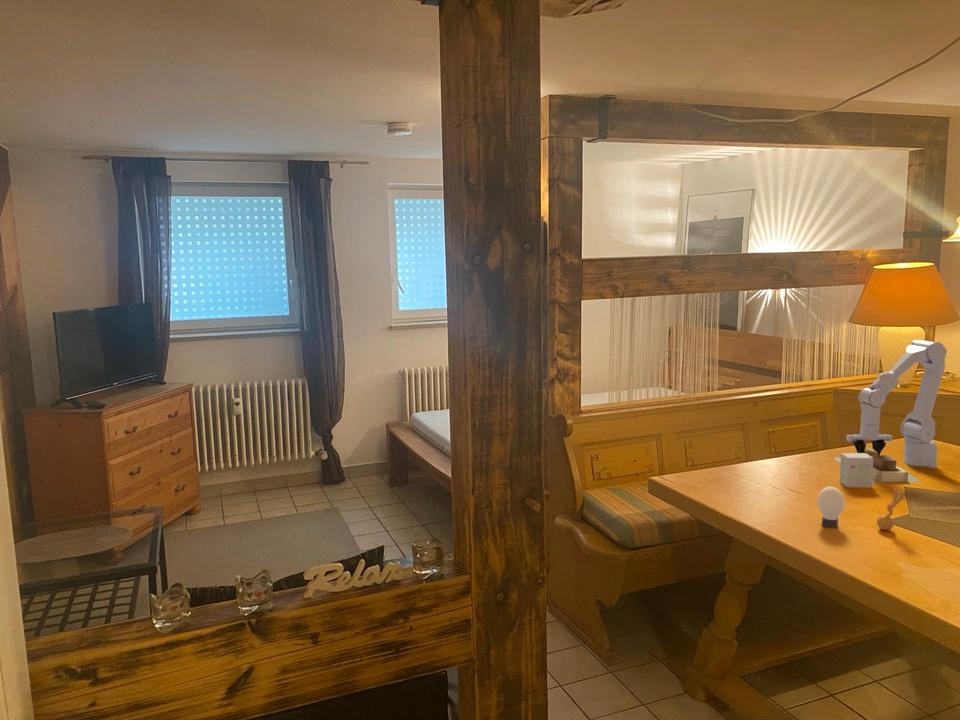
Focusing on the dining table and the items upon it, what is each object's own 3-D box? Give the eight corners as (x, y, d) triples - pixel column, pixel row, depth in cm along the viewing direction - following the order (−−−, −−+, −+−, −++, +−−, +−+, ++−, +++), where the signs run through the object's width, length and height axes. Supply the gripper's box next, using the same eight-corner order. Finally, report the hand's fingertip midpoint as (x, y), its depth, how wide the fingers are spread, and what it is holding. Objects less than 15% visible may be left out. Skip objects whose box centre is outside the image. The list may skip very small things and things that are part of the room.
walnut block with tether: (872, 461, 247) (873, 445, 246) (894, 477, 233) (896, 460, 231) (857, 462, 247) (859, 445, 246) (879, 477, 233) (880, 460, 232)
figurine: (878, 523, 196) (880, 482, 194) (903, 527, 193) (906, 485, 191) (875, 533, 189) (877, 490, 188) (901, 538, 186) (903, 494, 184)
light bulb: (823, 530, 192) (825, 491, 191) (811, 521, 199) (813, 483, 198) (848, 529, 193) (850, 490, 191) (835, 520, 199) (837, 482, 198)
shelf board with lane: (878, 459, 256) (878, 449, 255) (921, 483, 228) (922, 472, 228) (832, 459, 257) (833, 449, 256) (870, 484, 229) (871, 472, 229)
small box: (864, 484, 229) (866, 452, 228) (872, 489, 224) (874, 457, 222) (838, 484, 230) (840, 452, 229) (845, 489, 225) (847, 457, 223)
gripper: (885, 420, 247) (883, 457, 249) (843, 420, 248) (841, 458, 250) (896, 424, 240) (894, 463, 242) (852, 425, 241) (850, 463, 243)
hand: (868, 461), depth 245 cm, fingers closed on walnut block with tether, 4 cm apart
